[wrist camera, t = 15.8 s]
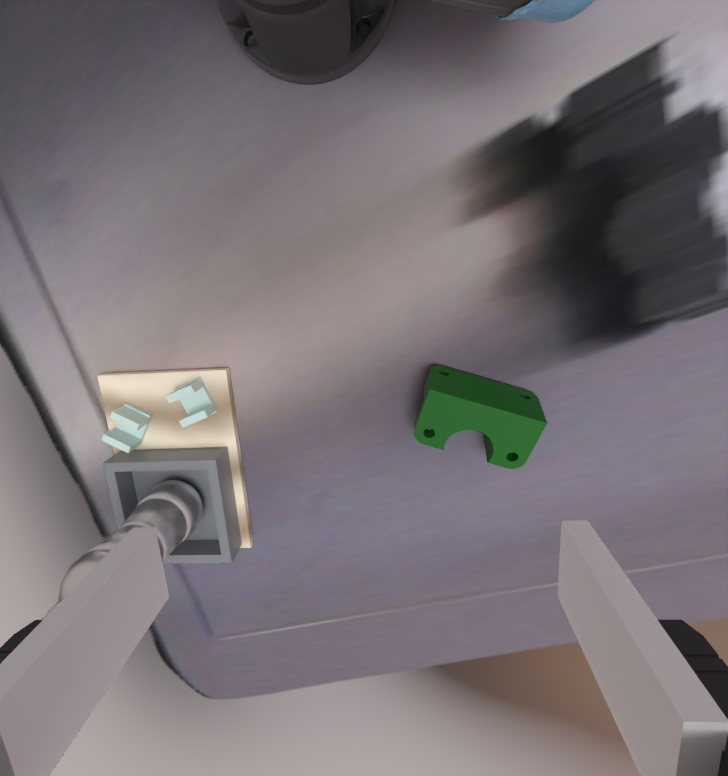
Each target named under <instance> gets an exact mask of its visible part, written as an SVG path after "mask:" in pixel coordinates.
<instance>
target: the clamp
mask: <svg viewBox="0 0 728 776" xmlns="http://www.w3.org/2000/svg"><path fill="white" fill-rule="evenodd" d="M546 424H547V422H546V419H545V416H544V413H543V410H542V408H541V405H540V402H539V399H538V398H537V397H536V396H535V395H534V394H533V393H531V392H529V391H527V390H524V389H521V388H517V387H514V386H510V385H507V384H503V383H500V382H496V381H493V380H490V379H486V378H483V377H479V376H476V375H472V374H469V373H465V372H462V371H458V370H455V369H451V368H448V367H444V366H440V365H434V366H432V367H431V368H430V371H429V373H428V376H427V379H426V382H425V384H424V394H423V402H422V405H421V407H420V410H419V413H418V416H417V418H416V421H415V428H414V435H415V438H416V439H417V440H418V441H419V442H420V443H422V444H425V445H429V446H432V447H435V448H439V449H442V450H444V444H445V442H446V440H447V439H448V438H449V437H450V436H451V435H452V434H454V433H455V432H458V431H461V430H466V429H471V430H477V431H480V432H482V433H484V434H485V435H484V442H485V449H486V456H487V462H488V463H491V464H495V465H498V466H502V467H505V468H509V469H514V468H518V467H521V466H522V465H524V464H525V462H526V461H527V459H528V457H529V455H530V453H531V452H532V450H533V448H534V446H535V444H536V442H537V441H538V439H539V437H540V435H541V433H542V432H543V430H544V428H545V426H546ZM428 428H430V429H432V430H427V429H428ZM512 452H513V453H512Z"/></svg>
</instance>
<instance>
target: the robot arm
mask: <svg viewBox="0 0 728 776" xmlns="http://www.w3.org/2000/svg"><path fill="white" fill-rule="evenodd" d="M430 1H434V2H439V3H443V4H448V5H452V6H457V7H461V8H465V9H470V10H474V11H479V12H483V13H488V14H492V15H494V16H495V17H497V18H498V19H501V20H505V19H507V20H513V19H517V18H522V19H528V20H535V21H541V22H548V23H555V22H561V21H565V20H567V19H570V18H572V17H574V16H576V15H577V14H579V13H581V12H582V11H583V10H584V9H586V8H587V7H588V6H589V5H590V4H592V3H593V2H594V1H595V0H430ZM394 2H395V0H217V3H218V6H219V9H220V11H221V14H222V16H223V18H224V21H225V22H226V24H227V26H228V28H229V30H230V32H231V33H232V35H233V36H234V38H235V39H236V40H237V42H238V43H239V44H240V46H241V47H242V48H243V50H244V51H245V52H246V53H247V55H248V56H249V57H250V58H251V59H252V60H253V61H254V62H255V63H256V64H258V65H259V66H260V67H261V68H263V69H264V70H265V71H267V72H269V73H270V74H272V75H274V76H276V77H278V78H281V79H283V80H286V81H290V82H294V83H301V84H316V83H323V82H327V81H331V80H334V79H336V78H339V77H341V76H343V75H345V74H347V73H348V72H350V71H351V70H353V69H354V68H356V67H357V66H358V65H359V64H360V63H362V62H363V61H364V60H365V59H366V58H367V57H368V55H369V54H370V53H371V52H372V51H373V49H374V48H375V47H376V45H377V44H378V42H379V41H380V39H381V37H382V35H383V34H384V32H385V29H386V27H387V25H388V22H389V20H390V17H391V14H392V10H393V6H394ZM168 598H169V594H168V589H167V584H166V579H165V574H164V569H163V564H162V559H161V554H160V549H159V544H158V539H157V534H156V529H155V527H133V528H132V529H131V530H130V531H129V532H128V533H127V534H126V535H125V536H124V537H123V538H122V539H121V541H120V542H119V543H118V544H117V545H116V546H115V547H114V548H113V549H112V550H111V551H110V552H109V553H108V554H107V555H106V556H105V557H104V558H103V559H102V560H101V561H100V562H99V563H98V564H97V565H96V566H95V567H94V568H93V569H92V570H91V571H90V572H89V573H88V574H87V575H86V576H85V577H84V578H83V580H82V581H81V582H80V583H79V584H78V585H77V586H76V587H75V588H74V589H73V590H72V591H71V592H70V593H69V594H68V595H67V596H66V597H65V598H64V599H63V600H62V601H61V602H60V603H59V604H58V605H57V606H56V607H55V608H54V609H53V610H52V611H51V612H50V613H49V614H48V615H47V616H46V617H45V618H44V620H35V621H33V622H32V623H30V624H29V625H27V626H26V627H25V628H23V629H21V630H20V631H19V632H17V633H15V634H14V635H13V636H12V637H11V638H10V639H9V640H8V641H7V642H6V643H5V644H4V645H3V646H2V647H1V648H0V776H49V775H50V774H51V772H52V771H53V769H54V768H55V767H56V765H57V763H58V762H59V760H60V759H61V758H62V756H63V755H64V753H65V752H66V750H67V749H68V747H69V746H70V744H71V743H72V741H73V740H74V738H75V737H76V735H77V734H78V732H79V731H80V729H81V728H82V726H83V725H84V723H85V722H86V720H87V719H88V717H89V716H90V714H91V713H92V711H93V710H94V708H95V707H96V705H97V704H98V702H99V701H100V700H101V698H102V697H103V695H104V694H105V692H106V691H107V689H108V688H109V686H110V685H111V683H112V681H113V680H114V679H115V677H116V675H117V674H118V673H119V671H120V670H121V668H122V666H123V665H124V664H125V662H126V661H127V659H128V658H129V656H130V655H131V653H132V652H133V650H134V649H135V647H136V646H137V644H138V643H139V641H140V640H141V638H142V637H143V635H144V634H145V633H146V631H147V630H148V628H149V627H150V625H151V624H152V622H153V621H154V619H155V618H156V616H157V615H158V613H159V612H160V610H161V609H162V607H163V606H164V604H165V603H166V601H167V600H168ZM558 598H559V600H560V602H561V605H562V607H563V609H564V611H565V613H566V615H567V618H568V620H569V622H570V624H571V626H572V628H573V631H574V633H575V635H576V637H577V639H578V641H579V644H580V646H581V648H582V650H583V652H584V654H585V657H586V659H587V661H588V663H589V665H590V667H591V670H592V672H593V674H594V676H595V678H596V680H597V682H598V685H599V687H600V689H601V691H602V693H603V696H604V698H605V700H606V702H607V704H608V706H609V709H610V710H611V713H612V715H613V717H614V719H615V722H616V724H617V726H618V728H619V730H620V732H621V735H622V737H623V739H624V741H625V743H626V745H627V748H628V750H629V752H630V754H631V756H632V758H633V761H634V763H635V765H636V767H637V769H638V771H639V774H640V776H728V666H727V665H726V664H725V663H724V661H723V660H722V659H719V656H718V654H717V653H716V651H715V650H714V649H713V648H712V646H711V645H710V644H709V643H708V642H707V640H706V639H705V638H704V636H703V635H701V634H700V633H699V632H697V631H696V630H694V629H693V628H692V627H690V626H689V625H688V624H686V623H685V622H684V621H682V620H657V618H656V617H655V616H654V614H653V613H652V611H651V610H650V609H649V607H648V606H647V604H646V603H645V601H644V600H643V599H642V597H641V596H640V594H639V593H638V592H637V590H636V589H635V587H634V586H633V584H632V583H631V582H630V580H629V579H628V577H627V576H626V574H625V573H624V572H623V570H622V569H621V567H620V566H619V565H618V563H617V562H616V560H615V559H614V557H613V556H612V555H611V553H610V552H609V550H608V549H607V548H606V546H605V545H604V543H603V542H602V540H601V539H600V538H599V536H598V535H597V533H596V532H595V530H594V529H593V528H592V526H591V525H590V523H589V522H588V521H587V520H576V521H562V525H561V543H560V562H559V580H558Z"/></svg>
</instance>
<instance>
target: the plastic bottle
mask: <svg viewBox="0 0 728 776" xmlns="http://www.w3.org/2000/svg"><path fill="white" fill-rule="evenodd" d="M202 513H203V505H202V501H201V498H200V496H199V494H198V492H197V491H196V490H195V489H194V488H193V487H192V486H191V485H189V484H187V483H185V482H182V481H178V480H167V481H163V482H161V483H159V484H157V485H156V486H154V487H152V488H151V489H150V490H148V491H147V492H146V494H145V495H144V496H143V497H142V499H141V500H140V502H139V503H138V505H137V507H136V509H135V510H134V511H133V513H132V514H131V515H130V516H129V517H128V519H127V520H126V521H125V522H124V523H123V525H121V526H120V527H119V528H118V529H117V530H116V531H115V532H113V533H112V534H111V535H110V536H109V537H108V538H106V539H105V540H104V541H102V542H101V543H100V544H98V545H97V546H95V547H94V548H92V549H91V550H90V551H88V552H87V553H86V554H84V555H82V556H81V557H80V558H79V559H78V560H76V561H75V562H74V563H73V564H72V565H71V566H70V567H69V569H68V570H67V572H66V574H65V576H64V578H63V580H62V582H61V585H60V591H59V598H58V602H57V603H56V604H54V605H53V606H52V607H51V608H50V610H49V611H48V612H47V614H46V615H45V616H44V617H43V618H42V619H41V620H44V618H45V617H46V616H47V615H48V614H49V613H50V612H51V611H52V610H53V609H54V608H55V607H56V606H57V605H58V604H59V603H60V602H61V601H62V600H63V599H64V598H65V597H66V596H67V595H68V594H69V593H70V592H71V591H72V590H73V589H74V588H75V587H76V586H77V585H78V584H79V583H80V582H81V581H82V580H83V578H84V577H85V576H86V575H87V574H88V573H89V572H90V571H91V570H92V569H93V568H94V567H95V566H96V565H97V564H98V563H99V562H100V561H101V560H102V559H103V558H104V557H105V556H106V555H107V554H108V553H109V552H110V551H111V550H112V549H113V548H114V547H115V546H116V545H117V544H118V543H119V542H120V541H121V539H122V538H123V537H124V536H125V535H126V534H127V533H128V532H129V531H130V530H131V529H132V528H133V527H155V529H156V534H157V539H158V544H159V549H160V554H161V559H162V563H163V562H164V560H165V559H166V558H167V557H168V555H169V554H170V553H171V552H172V551H173V550H174V549H175V548H176V547H177V546H178V545H179V544H180V543H182V542H183V541H184V540H185V539H187V538H188V537H189V536H190V535H191V534H192V533H193V532H194V531H195V529H196V528H197V526H198V524H199V521H200V519H201V517H202Z"/></svg>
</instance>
